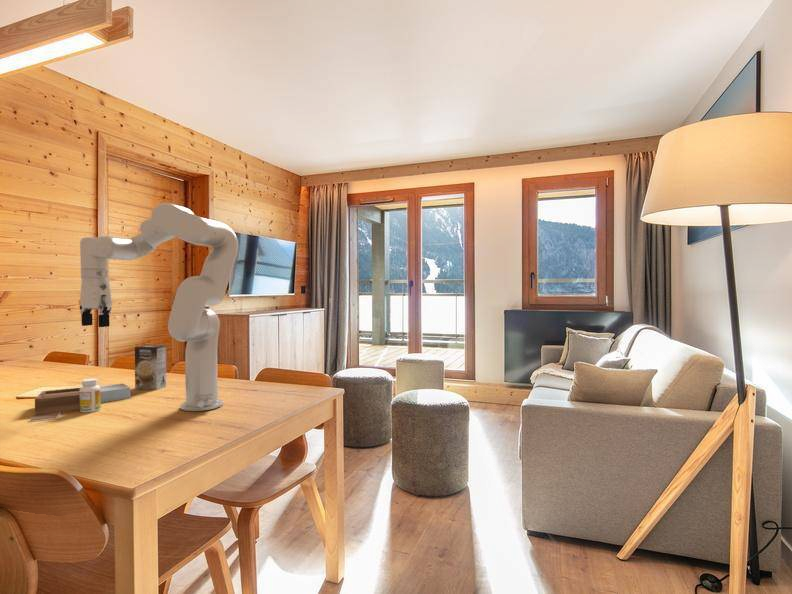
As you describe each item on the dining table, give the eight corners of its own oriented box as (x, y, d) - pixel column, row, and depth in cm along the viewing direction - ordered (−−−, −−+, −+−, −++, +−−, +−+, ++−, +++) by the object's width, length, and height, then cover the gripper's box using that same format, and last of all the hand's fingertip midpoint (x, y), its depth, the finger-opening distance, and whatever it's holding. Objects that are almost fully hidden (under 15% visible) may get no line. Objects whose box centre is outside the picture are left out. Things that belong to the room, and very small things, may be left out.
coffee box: (133, 389, 169) (133, 346, 169) (145, 385, 176) (144, 344, 175) (157, 389, 168) (156, 347, 168) (167, 386, 175) (166, 344, 174)
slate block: (130, 398, 157) (130, 387, 157) (100, 403, 150) (100, 391, 150) (123, 394, 163) (122, 383, 163) (93, 398, 156) (93, 387, 156)
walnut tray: (83, 409, 142) (83, 394, 142) (35, 415, 136) (34, 399, 136) (87, 401, 152) (87, 386, 152) (42, 405, 146) (42, 391, 146)
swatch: (57, 418, 133) (57, 416, 133) (28, 422, 129) (27, 420, 129) (61, 412, 139) (61, 411, 139) (33, 415, 135) (33, 414, 135)
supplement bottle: (97, 407, 145) (96, 377, 145) (103, 410, 141) (102, 379, 141) (77, 410, 141) (76, 379, 140) (83, 414, 137) (82, 382, 137)
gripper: (121, 274, 150) (122, 326, 150) (91, 275, 158) (92, 324, 158) (97, 274, 143) (98, 328, 144) (67, 274, 151) (68, 325, 151)
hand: (95, 326), depth 151 cm, fingers open, 9 cm apart
